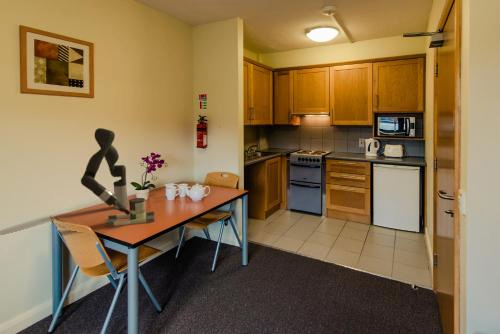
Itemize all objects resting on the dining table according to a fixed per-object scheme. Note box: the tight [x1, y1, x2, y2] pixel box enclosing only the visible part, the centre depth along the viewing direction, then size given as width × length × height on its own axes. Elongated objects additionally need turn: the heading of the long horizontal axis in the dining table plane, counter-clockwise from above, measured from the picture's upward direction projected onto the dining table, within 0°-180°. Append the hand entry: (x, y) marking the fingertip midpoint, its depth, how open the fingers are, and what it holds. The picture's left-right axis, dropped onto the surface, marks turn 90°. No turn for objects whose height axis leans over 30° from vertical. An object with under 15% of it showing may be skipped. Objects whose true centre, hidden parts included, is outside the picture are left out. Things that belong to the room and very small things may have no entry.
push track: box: [104, 211, 155, 227], centre depth 202 cm, size 30×16×2 cm, turn 108°
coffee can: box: [128, 197, 147, 220], centre depth 203 cm, size 10×10×14 cm
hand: (129, 213), depth 202 cm, fingers closed
